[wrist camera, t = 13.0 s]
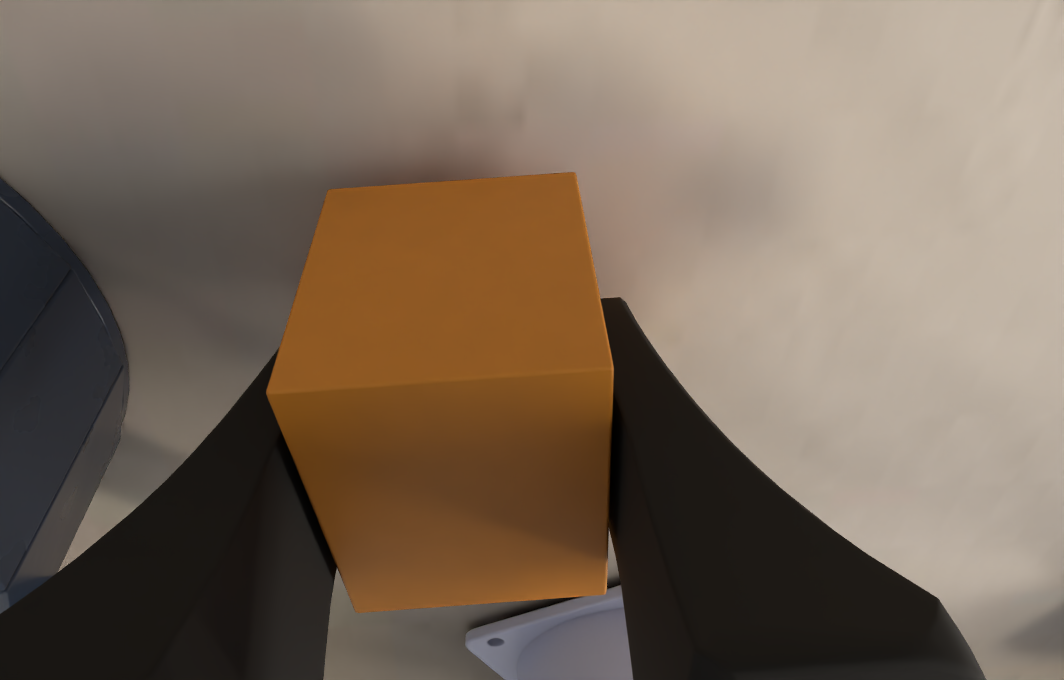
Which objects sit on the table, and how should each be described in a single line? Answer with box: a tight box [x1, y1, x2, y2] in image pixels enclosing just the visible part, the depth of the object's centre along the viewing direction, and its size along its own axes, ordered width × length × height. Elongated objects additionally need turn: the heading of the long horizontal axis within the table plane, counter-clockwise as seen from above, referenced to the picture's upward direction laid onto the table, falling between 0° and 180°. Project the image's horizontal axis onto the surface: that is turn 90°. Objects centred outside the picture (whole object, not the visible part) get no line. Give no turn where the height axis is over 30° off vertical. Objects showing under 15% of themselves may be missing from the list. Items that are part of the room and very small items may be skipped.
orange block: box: [266, 172, 614, 613], centre depth 12 cm, size 4×5×5 cm
